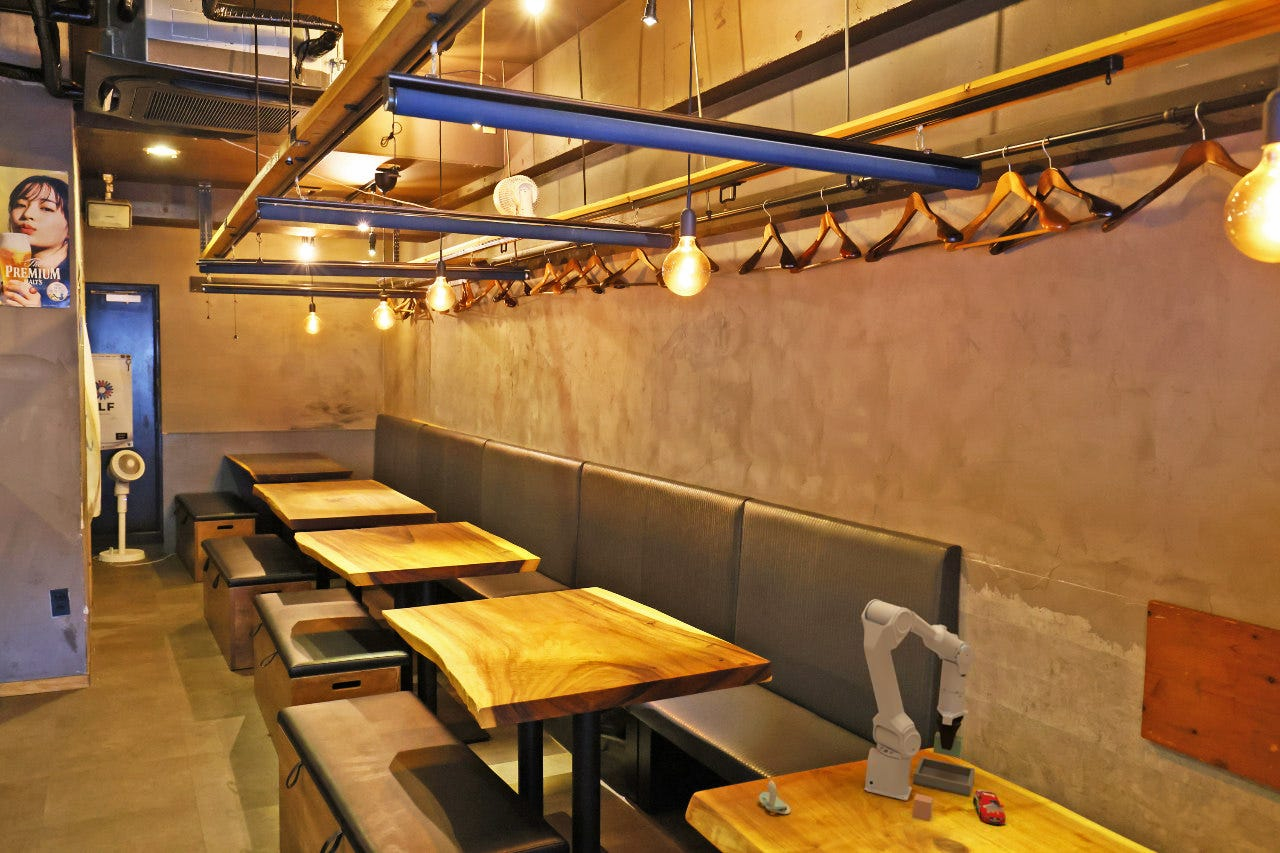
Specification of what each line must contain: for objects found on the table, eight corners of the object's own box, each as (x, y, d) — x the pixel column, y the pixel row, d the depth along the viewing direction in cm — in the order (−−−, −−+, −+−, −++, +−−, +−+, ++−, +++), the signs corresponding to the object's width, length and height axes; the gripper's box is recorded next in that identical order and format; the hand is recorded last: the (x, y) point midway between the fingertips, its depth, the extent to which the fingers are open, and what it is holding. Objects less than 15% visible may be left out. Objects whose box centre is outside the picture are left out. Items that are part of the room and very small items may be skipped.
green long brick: (933, 752, 226) (934, 735, 226) (935, 748, 229) (936, 731, 229) (959, 758, 223) (961, 741, 223) (961, 753, 226) (962, 737, 226)
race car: (1007, 829, 203) (1008, 811, 203) (980, 825, 204) (982, 806, 204) (996, 804, 216) (998, 787, 216) (971, 800, 217) (973, 783, 217)
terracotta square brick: (912, 817, 204) (914, 799, 204) (914, 811, 207) (916, 793, 207) (929, 821, 203) (931, 803, 203) (931, 815, 206) (933, 797, 206)
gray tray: (912, 784, 223) (913, 773, 223) (920, 766, 235) (921, 756, 235) (969, 797, 218) (970, 786, 218) (973, 779, 230) (974, 768, 229)
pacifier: (780, 802, 207) (755, 802, 205) (783, 773, 207) (758, 774, 205) (796, 817, 200) (770, 817, 198) (799, 787, 200) (774, 788, 198)
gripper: (967, 701, 217) (962, 759, 218) (972, 685, 231) (967, 741, 231) (935, 694, 220) (930, 752, 221) (942, 680, 234) (937, 734, 234)
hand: (947, 746), depth 226 cm, fingers closed on green long brick, 3 cm apart
